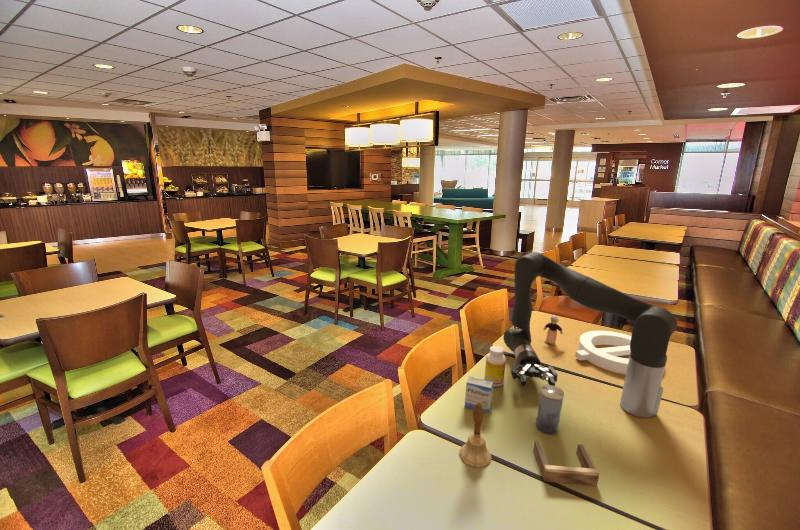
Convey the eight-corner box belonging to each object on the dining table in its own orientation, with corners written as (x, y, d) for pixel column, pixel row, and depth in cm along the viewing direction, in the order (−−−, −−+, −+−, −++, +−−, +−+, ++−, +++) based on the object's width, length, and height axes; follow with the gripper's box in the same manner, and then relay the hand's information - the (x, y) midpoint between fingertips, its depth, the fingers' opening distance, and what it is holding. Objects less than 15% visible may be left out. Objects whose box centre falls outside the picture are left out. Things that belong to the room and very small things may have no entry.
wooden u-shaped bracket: (580, 453, 100) (583, 441, 99) (596, 485, 90) (599, 472, 89) (533, 450, 101) (534, 438, 100) (544, 481, 91) (545, 468, 90)
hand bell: (485, 473, 93) (490, 418, 89) (454, 459, 97) (457, 406, 93) (495, 451, 100) (501, 400, 96) (466, 439, 104) (470, 389, 100)
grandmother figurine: (541, 343, 160) (545, 316, 156) (541, 339, 163) (545, 312, 159) (561, 347, 157) (565, 319, 153) (561, 343, 160) (565, 315, 157)
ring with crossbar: (657, 352, 154) (659, 341, 153) (658, 385, 132) (661, 373, 130) (583, 334, 169) (584, 325, 168) (572, 361, 146) (574, 350, 145)
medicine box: (464, 406, 118) (465, 382, 116) (467, 398, 122) (468, 375, 120) (489, 413, 115) (491, 388, 113) (491, 404, 119) (494, 381, 117)
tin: (554, 421, 112) (559, 385, 109) (561, 435, 106) (567, 398, 103) (533, 419, 113) (538, 384, 109) (538, 434, 107) (544, 397, 103)
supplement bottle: (504, 388, 128) (507, 354, 124) (484, 386, 129) (487, 352, 125) (502, 377, 134) (506, 345, 130) (483, 375, 135) (486, 343, 132)
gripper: (507, 348, 134) (517, 373, 118) (548, 350, 132) (563, 376, 117) (505, 367, 136) (514, 394, 120) (546, 369, 135) (560, 397, 119)
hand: (539, 385), depth 119 cm, fingers open, 8 cm apart
